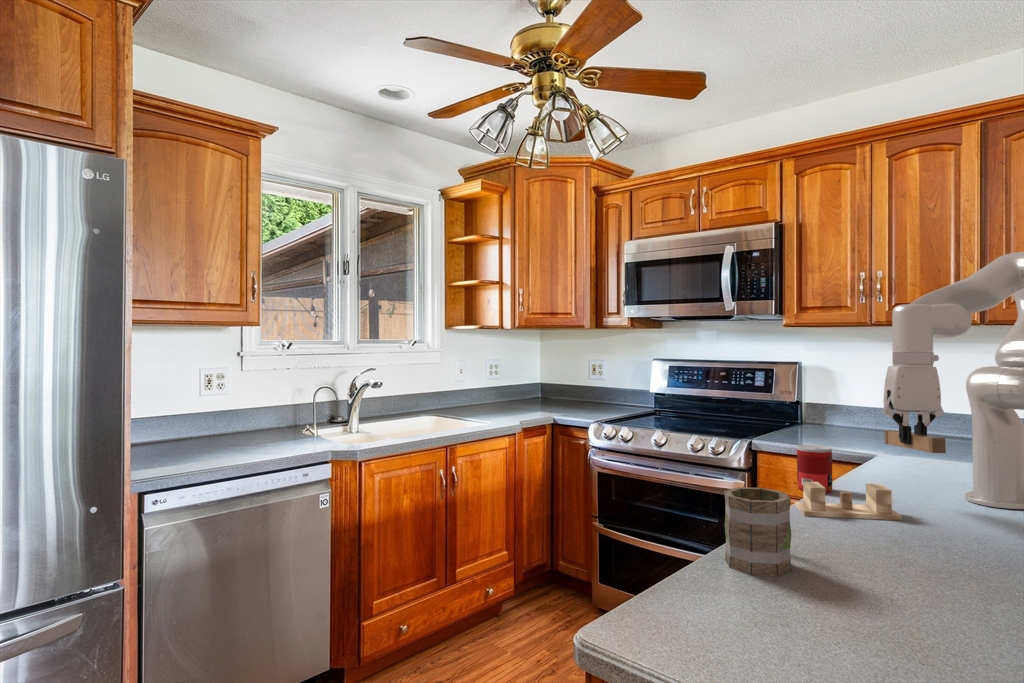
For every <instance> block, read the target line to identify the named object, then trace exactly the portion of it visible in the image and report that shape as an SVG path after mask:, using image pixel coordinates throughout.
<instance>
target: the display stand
mask: <svg viewBox="0 0 1024 683" xmlns="http://www.w3.org/2000/svg"><path fill="white" fill-rule="evenodd" d="M802 492H803V494H802V495H803V497H802V498H803V501H795V505H794V506H795V507H796V509H798V511H799V512H800V513H801V514H802V515H803V516H804V517H819V518H821V517H823V518H839V519H840V518H842V519H843V518H845V519H862V520H863V519H865V520H866V519H867V520H886V521H887V520H889V521H902V518H903V516H902V515H901V514H900V513H898V512H897V511H895V510H894V509H893V507H892V506H893V505H892V503H893V502H892V500H893V499H892V496H893V495H892V489H889V488H888V487H886V486H885V485H883V484H881V483H865V504H859V503H858V504H856V503H855V504H854V503H853V493H852V492H850V491H839V503H834V502H833V503H830V502H829V503H827V502H826V494H825V488H824V487H823V486H822V485H821V484H819V483H818V482H803V491H802Z"/></svg>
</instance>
